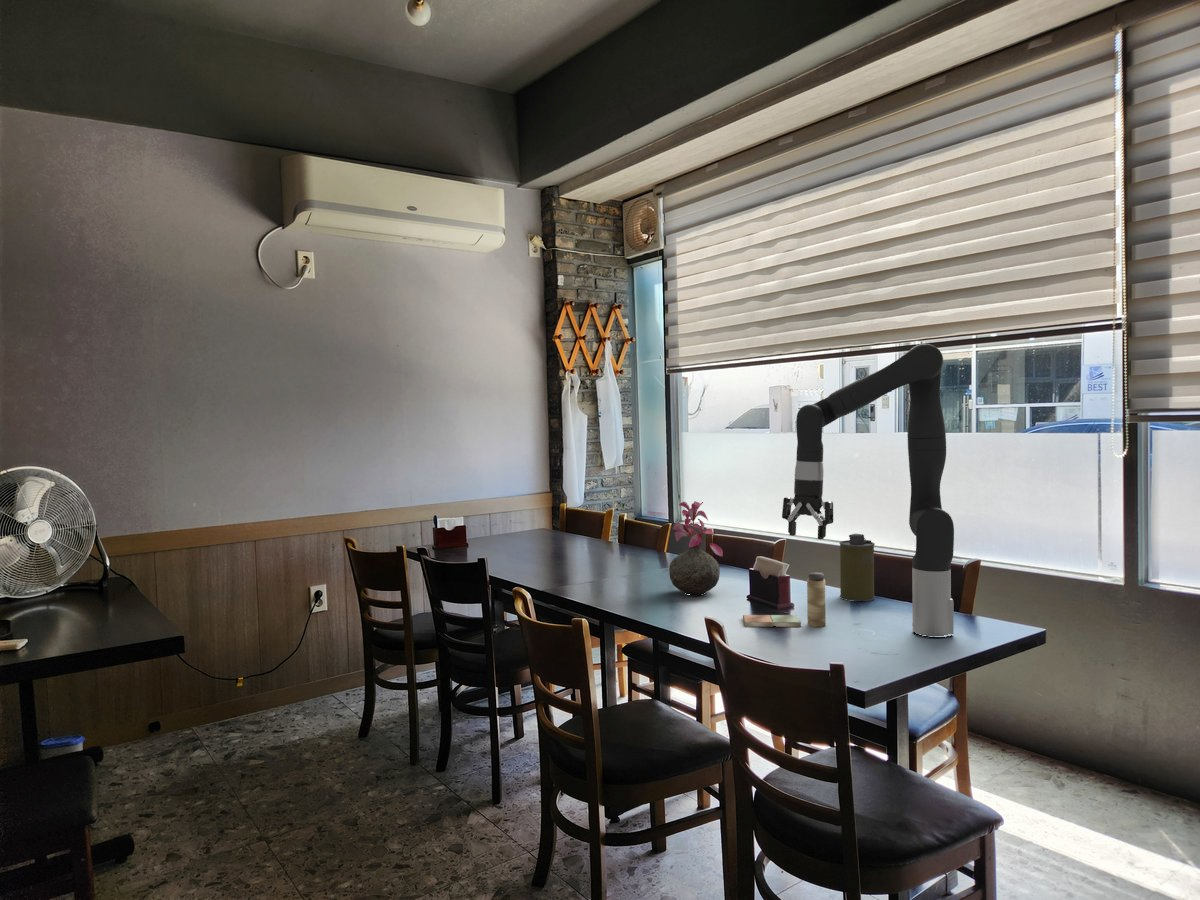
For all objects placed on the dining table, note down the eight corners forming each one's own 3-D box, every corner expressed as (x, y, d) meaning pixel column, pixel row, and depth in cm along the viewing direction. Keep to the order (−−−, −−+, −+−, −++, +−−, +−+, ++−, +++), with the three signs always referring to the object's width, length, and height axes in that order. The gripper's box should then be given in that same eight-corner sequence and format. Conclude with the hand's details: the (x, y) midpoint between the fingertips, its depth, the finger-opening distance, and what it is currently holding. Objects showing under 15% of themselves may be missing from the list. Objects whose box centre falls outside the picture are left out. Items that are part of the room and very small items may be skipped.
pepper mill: (823, 622, 219) (823, 571, 218) (827, 627, 214) (826, 575, 213) (806, 622, 219) (805, 571, 218) (809, 627, 214) (808, 575, 214)
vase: (671, 587, 266) (670, 499, 265) (724, 588, 263) (722, 499, 262) (667, 599, 250) (665, 505, 248) (723, 600, 247) (721, 505, 245)
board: (796, 619, 223) (796, 614, 223) (800, 626, 215) (800, 622, 215) (742, 618, 224) (742, 614, 224) (745, 626, 216) (745, 622, 216)
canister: (860, 603, 239) (859, 538, 238) (832, 597, 248) (832, 534, 247) (882, 598, 245) (882, 534, 244) (855, 592, 254) (855, 530, 253)
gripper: (839, 479, 212) (837, 539, 213) (792, 475, 222) (790, 533, 223) (826, 480, 207) (823, 541, 207) (778, 476, 217) (776, 535, 217)
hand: (806, 537), depth 215 cm, fingers open, 8 cm apart
